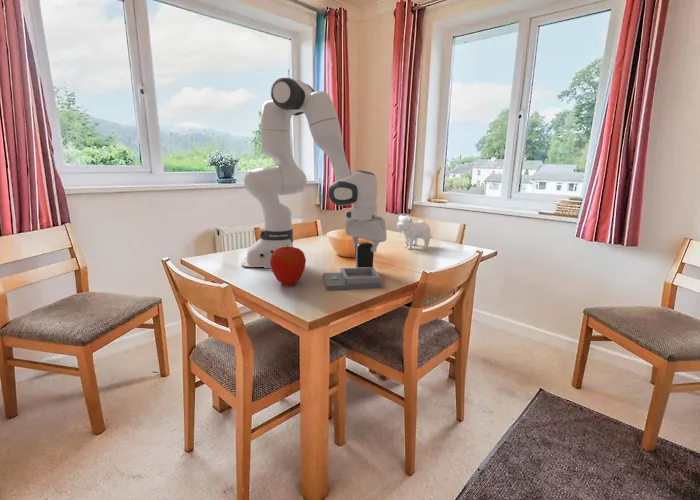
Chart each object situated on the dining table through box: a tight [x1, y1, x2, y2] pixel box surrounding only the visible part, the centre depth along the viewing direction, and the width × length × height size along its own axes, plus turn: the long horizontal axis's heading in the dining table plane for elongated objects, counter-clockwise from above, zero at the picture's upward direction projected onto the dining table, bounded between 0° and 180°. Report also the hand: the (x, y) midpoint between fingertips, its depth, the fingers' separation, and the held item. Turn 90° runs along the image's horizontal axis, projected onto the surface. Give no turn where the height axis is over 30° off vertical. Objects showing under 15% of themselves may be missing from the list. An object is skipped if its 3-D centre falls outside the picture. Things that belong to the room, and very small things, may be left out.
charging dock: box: [322, 266, 383, 291], centre depth 129 cm, size 19×14×4 cm
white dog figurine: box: [394, 214, 434, 251], centre depth 180 cm, size 25×10×17 cm, turn 125°
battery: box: [354, 241, 375, 268], centre depth 142 cm, size 7×4×11 cm, turn 111°
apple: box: [270, 245, 307, 287], centre depth 125 cm, size 12×12×14 cm
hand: (365, 250), depth 141 cm, fingers open, 8 cm apart
